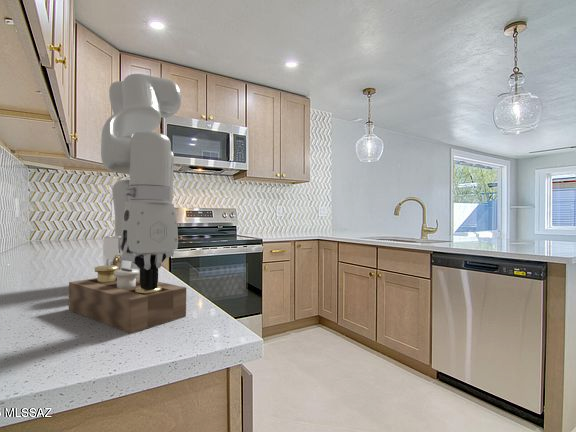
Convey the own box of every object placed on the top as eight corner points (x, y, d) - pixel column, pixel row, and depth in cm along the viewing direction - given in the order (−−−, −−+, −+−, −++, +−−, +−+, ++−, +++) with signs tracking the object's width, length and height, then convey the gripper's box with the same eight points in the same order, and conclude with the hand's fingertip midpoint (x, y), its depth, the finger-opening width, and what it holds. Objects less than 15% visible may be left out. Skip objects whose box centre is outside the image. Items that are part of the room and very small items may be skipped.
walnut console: (68, 309, 70) (69, 282, 70) (122, 298, 80) (122, 274, 80) (130, 333, 57) (131, 299, 57) (186, 316, 67) (186, 287, 67)
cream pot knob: (108, 299, 68) (109, 269, 68) (130, 294, 72) (131, 266, 72) (121, 303, 65) (121, 271, 65) (143, 298, 69) (143, 268, 69)
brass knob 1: (90, 293, 72) (90, 267, 72) (111, 289, 76) (111, 264, 76) (100, 297, 70) (101, 269, 70) (122, 292, 74) (123, 266, 74)
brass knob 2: (129, 318, 64) (130, 288, 64) (151, 313, 68) (152, 284, 68) (144, 323, 61) (144, 292, 61) (166, 317, 65) (166, 287, 65)
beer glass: (100, 297, 81) (101, 237, 81) (103, 291, 87) (104, 235, 87) (131, 295, 84) (132, 237, 83) (132, 289, 90) (133, 235, 90)
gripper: (124, 193, 56) (122, 298, 56) (192, 197, 68) (191, 284, 68) (101, 194, 60) (100, 292, 60) (170, 198, 72) (169, 280, 72)
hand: (148, 288), depth 64 cm, fingers closed
